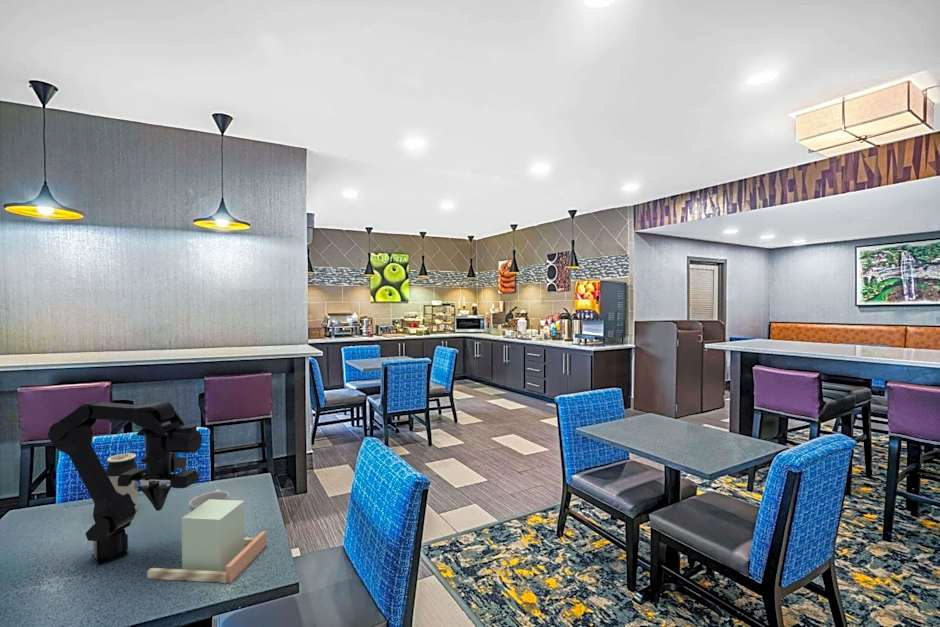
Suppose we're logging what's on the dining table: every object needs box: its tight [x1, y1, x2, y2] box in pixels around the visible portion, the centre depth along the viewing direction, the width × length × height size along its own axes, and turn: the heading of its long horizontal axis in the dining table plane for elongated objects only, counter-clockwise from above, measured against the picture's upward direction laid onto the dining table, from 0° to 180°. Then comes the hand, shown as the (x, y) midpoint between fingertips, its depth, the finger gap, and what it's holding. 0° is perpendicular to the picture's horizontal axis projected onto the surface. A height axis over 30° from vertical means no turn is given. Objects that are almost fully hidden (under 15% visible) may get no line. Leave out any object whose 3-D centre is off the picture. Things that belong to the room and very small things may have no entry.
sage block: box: [181, 499, 245, 572], centre depth 123 cm, size 10×11×14 cm
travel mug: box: [105, 452, 139, 511], centre depth 150 cm, size 8×8×18 cm
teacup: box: [188, 488, 230, 513], centre depth 145 cm, size 14×11×8 cm
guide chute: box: [147, 530, 267, 584], centre depth 123 cm, size 21×17×4 cm
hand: (159, 510), depth 123 cm, fingers closed
